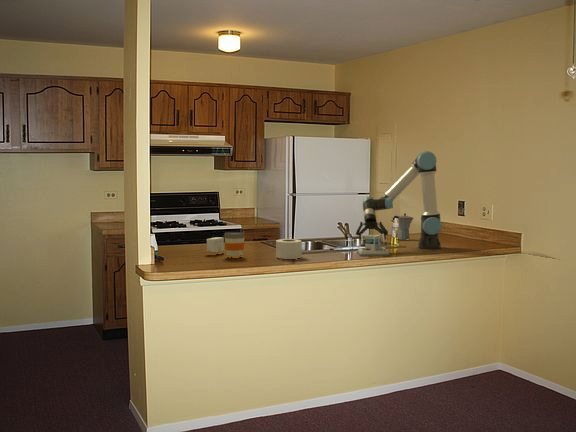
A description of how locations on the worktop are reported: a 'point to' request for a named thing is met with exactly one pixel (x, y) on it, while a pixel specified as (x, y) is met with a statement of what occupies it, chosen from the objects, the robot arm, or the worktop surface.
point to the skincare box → (215, 244)
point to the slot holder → (372, 252)
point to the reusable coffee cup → (234, 243)
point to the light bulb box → (373, 243)
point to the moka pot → (403, 226)
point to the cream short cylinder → (289, 248)
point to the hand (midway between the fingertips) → (373, 243)
